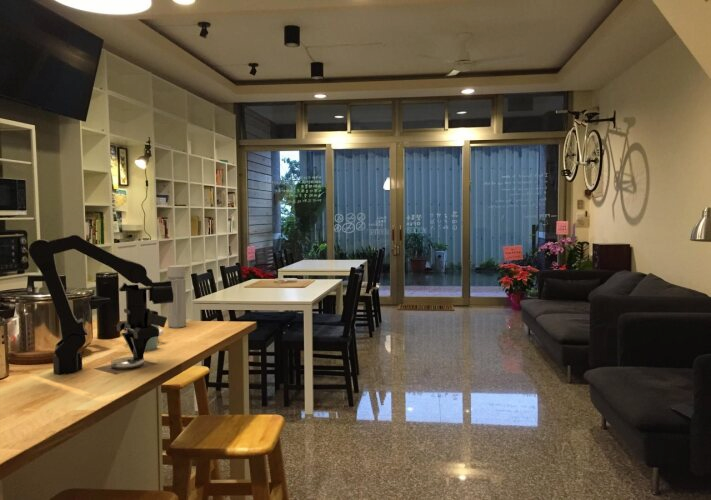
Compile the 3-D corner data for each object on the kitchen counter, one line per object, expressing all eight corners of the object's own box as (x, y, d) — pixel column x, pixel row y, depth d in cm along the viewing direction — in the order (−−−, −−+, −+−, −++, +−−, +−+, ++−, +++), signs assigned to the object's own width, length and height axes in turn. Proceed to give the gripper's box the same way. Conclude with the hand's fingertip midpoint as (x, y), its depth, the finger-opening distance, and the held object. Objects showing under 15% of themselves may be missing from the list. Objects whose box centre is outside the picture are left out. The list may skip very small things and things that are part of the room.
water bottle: (167, 325, 233) (166, 265, 232) (186, 324, 236) (186, 265, 234) (166, 329, 225) (165, 267, 223) (187, 328, 227) (186, 267, 226)
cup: (150, 355, 182) (149, 325, 182) (128, 354, 184) (128, 324, 183) (163, 350, 190) (162, 320, 190) (142, 349, 192) (141, 320, 191)
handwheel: (117, 370, 158) (116, 355, 158) (106, 364, 165) (106, 349, 165) (149, 365, 164) (148, 350, 164) (137, 359, 171) (137, 344, 171)
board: (116, 378, 156) (115, 374, 156) (93, 372, 162) (93, 368, 162) (158, 367, 168) (158, 363, 168) (136, 362, 174) (136, 358, 174)
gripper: (175, 305, 164) (177, 358, 165) (151, 299, 178) (152, 348, 179) (137, 310, 157) (139, 365, 158) (115, 303, 171) (116, 354, 172)
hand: (138, 357), depth 167 cm, fingers open, 3 cm apart
